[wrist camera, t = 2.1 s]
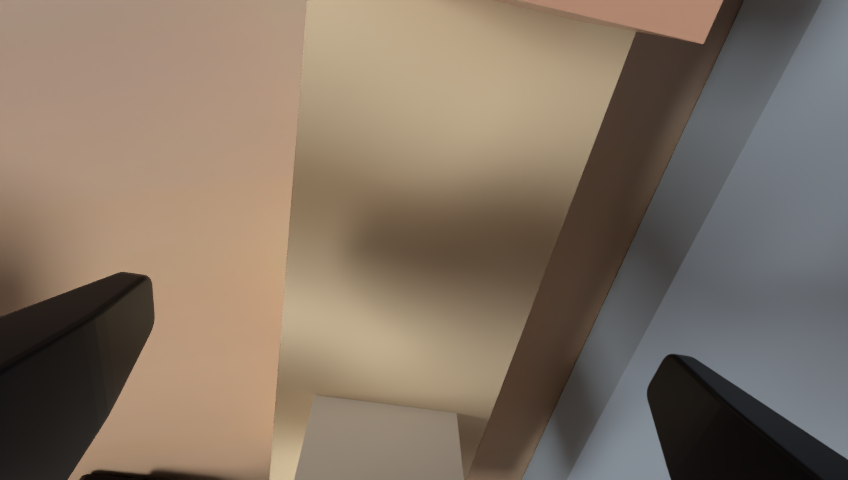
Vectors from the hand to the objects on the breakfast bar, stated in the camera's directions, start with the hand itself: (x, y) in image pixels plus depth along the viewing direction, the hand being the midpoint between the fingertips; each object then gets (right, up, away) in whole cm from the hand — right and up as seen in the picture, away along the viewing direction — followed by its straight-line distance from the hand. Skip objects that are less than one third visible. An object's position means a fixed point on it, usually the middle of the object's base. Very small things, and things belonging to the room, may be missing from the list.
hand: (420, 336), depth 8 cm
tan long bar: (0, +3, +6) cm, 7 cm away
